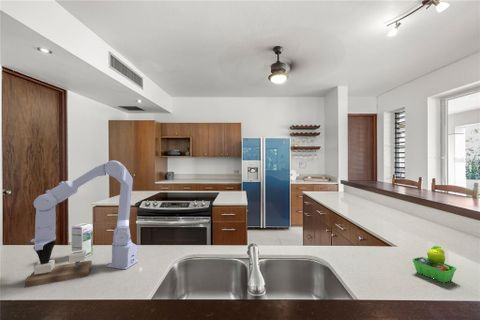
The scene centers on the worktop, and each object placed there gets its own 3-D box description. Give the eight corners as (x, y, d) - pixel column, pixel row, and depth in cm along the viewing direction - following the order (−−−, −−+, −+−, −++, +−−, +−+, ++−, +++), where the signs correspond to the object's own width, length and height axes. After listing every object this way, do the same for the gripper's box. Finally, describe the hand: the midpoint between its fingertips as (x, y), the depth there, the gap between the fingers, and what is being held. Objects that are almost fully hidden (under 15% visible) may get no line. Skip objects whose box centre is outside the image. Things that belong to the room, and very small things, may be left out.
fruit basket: (411, 271, 89) (410, 243, 90) (424, 267, 93) (423, 240, 93) (446, 286, 79) (446, 254, 79) (459, 281, 82) (459, 250, 83)
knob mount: (91, 265, 93) (91, 255, 93) (87, 275, 84) (87, 265, 84) (35, 274, 85) (35, 263, 85) (24, 287, 76) (24, 275, 76)
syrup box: (81, 259, 98) (82, 226, 98) (70, 258, 99) (71, 225, 100) (92, 254, 104) (93, 223, 104) (82, 253, 105) (82, 222, 105)
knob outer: (54, 266, 85) (54, 259, 86) (50, 271, 81) (50, 264, 81) (39, 269, 83) (39, 261, 83) (34, 274, 79) (34, 266, 79)
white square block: (85, 256, 90) (85, 249, 90) (83, 260, 86) (83, 253, 86) (71, 258, 88) (71, 251, 88) (68, 262, 84) (69, 255, 84)
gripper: (38, 222, 87) (38, 257, 87) (23, 233, 74) (22, 274, 74) (61, 220, 90) (60, 254, 90) (49, 230, 78) (49, 269, 77)
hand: (44, 263), depth 82 cm, fingers closed, pressing on knob outer
